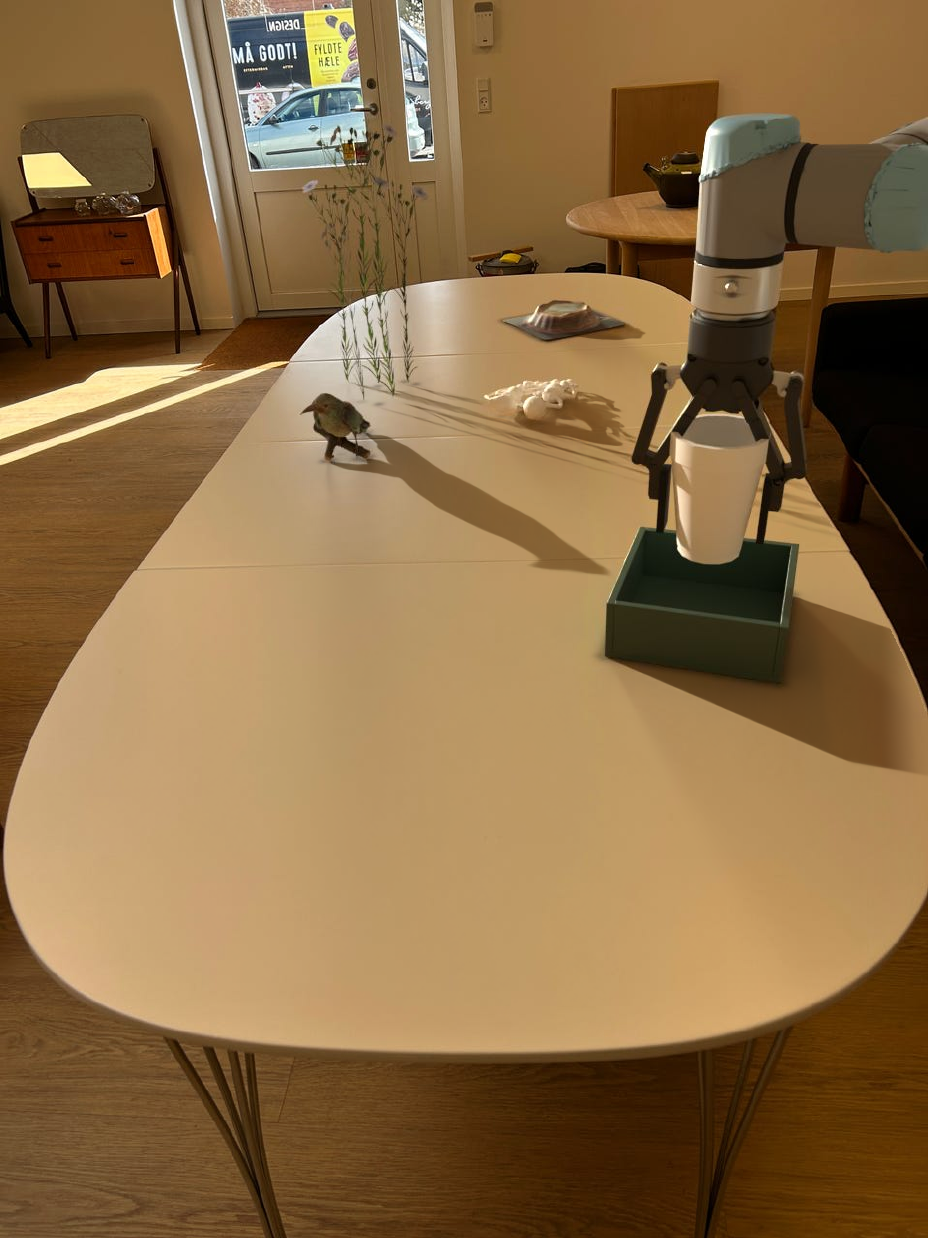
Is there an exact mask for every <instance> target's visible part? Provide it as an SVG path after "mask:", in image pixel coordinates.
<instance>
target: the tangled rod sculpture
mask: <svg viewBox="0 0 928 1238" xmlns="http://www.w3.org/2000/svg"><path fill="white" fill-rule="evenodd" d="M579 387H580V385H579V384H578V383H577V382H576V381H575V380H574V379H572V378H568V379H566V380H559V379H557V378H555V379H553V380H550V381H544V382H542V381H541V380H536V381H531V380H525V381H523V384H522V383H519V384H517V385H513V386H510V387H505V388H500V389H498V390H496V391H493V392H490V393H488V394H485V395H484V399H486V400H487V407H488V408H490V409H492V410H493V411H496V412H498V413H500V414H503V415H504V416H511V415H514V414H515V413H516V412H517V410H518V407H520V408H522V410H523V413H524V415H525V417H527V418H528V419H530V420H538V419H541V418H542V417H543V416H544V415H545V413H546V411H547V408H550V409H555V410H560V409H562V408H563V405H564V404H563V401H565V400H574V399H575V398H576V397H577V389H576V388H579ZM567 390H570V391H571V394H565V391H567ZM527 395H532V396H530V397H528V398H527V399H526V400H524V401H523V399H524V396H527ZM539 395H541V397H540V396H539ZM492 396H493V397H492Z"/></svg>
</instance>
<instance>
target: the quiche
mask: <svg viewBox="0 0 928 1238" xmlns="http://www.w3.org/2000/svg"><path fill="white" fill-rule="evenodd" d="M502 322H504V323H507V324H510V325H512V326H514V327H517V328H519V329H521V330H523V331H524V332H527V333H529V334H531V335H532V336H534V337H536V338H538V339H541V340H543V341H544V340H546V341H547V340H555V339H562V338H566V337H572V336H577V335H582V334H587V333H592V332H597V331H601V330H605V329H610V328H614V327H619V326H624V325H627V322H625V321H622V320H618V319H616V318H611V317H608V316H605V315H603V314H601V313H599V312H597V311H595V310H593V309H592V308H591V307H590V305H588V304H586V303H585V302H584V301H580V300H577V301H572V300H565V299H564V300H561V299H560V300H559V299H552V300H551V301H548V302H546V303H541V304H540V305H538V306H537V308H536V309H535V311H534V313H531V314H526V315H522V316H517V317H511V318H506V319H502Z"/></svg>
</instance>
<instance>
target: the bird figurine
mask: <svg viewBox="0 0 928 1238" xmlns="http://www.w3.org/2000/svg"><path fill="white" fill-rule="evenodd" d="M307 413H312V416H313V420H314V423H313V426H312V429H313V431H314V432H315V433H317V434H319V435H321V436H322V437H323V438H324V439H325V440H326V442H327V444H326V447H325V451H324V457H323V458H324V460H325V461H328V462H330V461H332V460H333V459H335V455H334V451H335V449H336V447H339V448H341V449H344V450H346V451H348V452H350V453H352V454H353V455H355V456H356V458H357V459H358V458H359V457H360V458H363V459H365V460H367V459H369V457H370V455H371V451H370V450H369V449H367V448H365V447H364V446H363V445H359V443H358V438H357V437H358V436H357V435H361V434H362V433H363V434H364V433H367V430H369V428H370V427H371V426H372V425H371V422H369V421H368V420H366V419H365V418H364V416H363V415H362V413H361V412H359V411H358V409H357V408H356V407H355V405H353V404H352V403H351V402H350V401H347V400H341V399H340V398H339V397H336V396H335V395H333V394H331V393H327V392H322V393H320V394H319V395H317V396H316V397H315V398H314V399H313V401H312V402H311V404H309V405H308V406H307V407H306V408H304V409H303V410H302V411H301V413H300V414H299V415H303V414H307ZM350 434H352V435H353V437H354V441H355V442H353V441H351V440H349V439H348V438H347V436H349V435H350Z"/></svg>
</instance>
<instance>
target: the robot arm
mask: <svg viewBox="0 0 928 1238" xmlns="http://www.w3.org/2000/svg"><path fill="white" fill-rule="evenodd" d="M800 131H801V121H800V120H799V118H798V117H797V116H796V115H793V114H789V113H788V114H787V113H745V114H735V115H733V114H732V115H727V116H723V117H720V118H717V119H716V120H714V121H713V122H712V123H711V125H709V127H708V129H707V131H706V134H705V141H704V149H703V156H702V163H701V171H700V175H699V177H698V183H699V190H698V191H699V194H698V210H697V225H696V227H697V228H696V241H695V242H696V243H695V252H694V261H693V263H694V264H693V275H692V286H691V297H690V304H691V305H692V307H693V308H695V309H694V310H692V312H691V313H690V315H689V323H688V324H689V325H688V335H687V336H688V337H687V349H686V357H685V360H684V362H683V363H682V365H680V364H679V365H668V364H666V362H659V363H657V364H656V366H655V367H654V369H653V370H652V373H651V374H650V384H651V387H650V388H651V395H650V398H649V402H648V405H647V408H646V411H645V414H644V417H643V420H642V424H641V426H640V430H639V433H638V436H637V439H636V441H635V445H634V449H633V452H632V455H631V457H630V458H631V463H633V464H634V465H635V466H639V465H641V466H643V467H645V468H646V469H647V471H648V488H647V496H648V499H649V500H655V501H657V509H656V524H655V525H656V526H655V528H656V532H657V533H663V532H664V530H665V529H666V527H667V525H668V521H669V509H670V493H671V484H672V483H671V481H672V463H666V462H667V461H668V459H669V457H671V456H670V454H669V453H670V439H671V432H678V433H679V434H680V435H681V436H683V435H684V433H685V432H686V430H687V429H688V427H689V426H690V424H691V423H692V422H693V420H694V419H695V418H696V416H697V415H699V413H700V412H701V410H704V412H706V413H708V412H709V413H716V412H725V413H727V414H731V415H739V414H740V413H741V414H742V416H744V419H745V421H746V423H747V424H748V425H749V427H750V429H751V432H752V434H753V436H754V439H755V441H756V442H757V441H759V440H760V439H769V438H770V439H769V442H768V450H767V457H766V463H764V465H765V467H766V469H767V471H768V472H765V474H764V475H765V476H764V480H763V484H762V493H761V498H760V499H761V500H760V501H761V502H760V507H759V516H758V523H757V531H756V538H755V539H756V544H764V540H766V539H765V538H766V534H767V525H768V520H769V519H768V518H769V512H774V513H779V512H780V510H781V509H782V506H783V498H784V493H785V492H784V491H785V485H786V483H787V482H789V481H790V480H795V479H796V480H803V479H804V478H805V477H806V475H807V471H808V470H807V468H808V458H807V456H808V455H807V448H806V440H805V432H804V431H805V430H804V424H803V416H802V414H803V413H802V407H801V398H800V396H801V393H802V389H803V384H804V379H805V375H804V371H802V370H800V369H795V370H792V372H786V371H782V370H781V371H780V370H775V367H774V366H773V362H772V353H773V352H772V351H773V343H774V337H775V336H774V335H775V330H776V329H775V328H776V321H777V320H776V319H777V316H776V314H775V313H774V311H773V310H774V309H775V308H776V307H777V306H778V304H779V297H780V290H781V282H782V275H783V267H784V258H785V247H786V244H791V245H808V246H819V247H820V246H821V247H833V248H846V249H857V250H871V251H878V252H880V253H884V254H890V253H893V252H922V251H926V250H928V116H927V117H924V118H922V119H919V120H917V121H913V122H910V123H908V124H905V125H903V126H901V127H899V128H896V129H895V130H893V131H891V132H889V133H887V134H886V135H885V136H883V137H880V138H878V139H875V140H874V141H871V142H868V143H851V144H849V143H848V144H847V143H845V144H843V143H842V144H835V143H834V144H819V143H811V142H804V141H802V135H801V133H800ZM677 380H681V381H682V382H683V384H684V386H685V388H686V389H687V391H688V392H689V393H690V395H691V396H690V399H689V400H688V402H687V403H686V405H685V406H684V408H683V410H682V411H681V413H680V414H679V416H678V417H677V419H676V421H675V422H674V423H675V424H674V423H673V425H674V426H673V425H672V427H673V428H672V427H671V428H670V429H669V431H668V432H667V434H666V436H665V437H664V438H663V440H662V442H661V443H660V445H659V446H658V448H657V449H656V451H653V450H652V449H650V446H651V443H652V440H653V436H654V434H655V430H656V427H657V425H658V421H659V418H660V416H661V412H662V409H663V406H664V404H665V400H666V398H667V394H668V391H670V390H673V388H674V386H675V384H676V381H677ZM771 385H774V386H775V387H776V389H777V390H776V391H777V395H778V396H779V397H780V398H784V402H783V409H784V417H785V425H786V434H787V440H788V448H789V449H788V451H789V457H790V461H789V462H786V461H785V460H784V457H783V455H782V452H781V449H780V446H779V445H778V443H777V440H776V438H775V436H774V433H773V430H772V428H771V425H770V423H769V420H768V419H767V416H766V414H765V412H764V409H763V408H764V407H763V404H762V402H761V399H760V396H762V394H763V393H765V391H766V390H767V389H768V388H769V387H770V386H771ZM671 429H672V430H671ZM771 430H772V431H771ZM770 434H771V436H770Z"/></svg>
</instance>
